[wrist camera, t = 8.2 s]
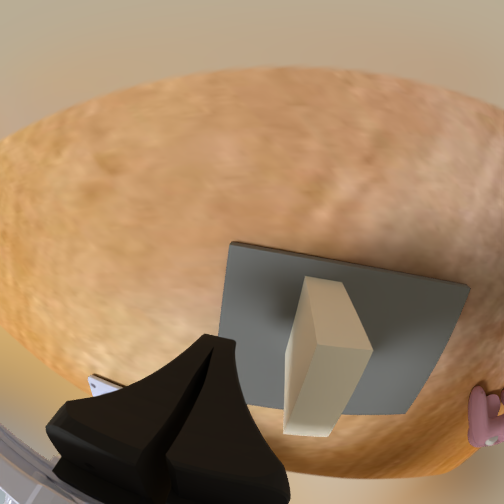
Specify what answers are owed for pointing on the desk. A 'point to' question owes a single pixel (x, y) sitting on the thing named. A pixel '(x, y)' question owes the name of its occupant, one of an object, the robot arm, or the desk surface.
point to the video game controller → (485, 418)
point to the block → (322, 358)
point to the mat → (367, 308)
